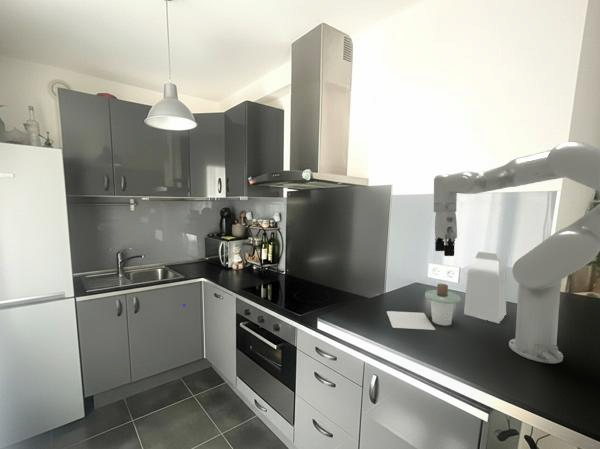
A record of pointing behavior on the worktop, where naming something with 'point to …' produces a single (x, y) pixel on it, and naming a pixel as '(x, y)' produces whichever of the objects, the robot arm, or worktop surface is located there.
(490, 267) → the milk
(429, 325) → the mat
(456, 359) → the worktop surface
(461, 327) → the worktop surface
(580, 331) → the worktop surface
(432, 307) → the white cup
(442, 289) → the lid
